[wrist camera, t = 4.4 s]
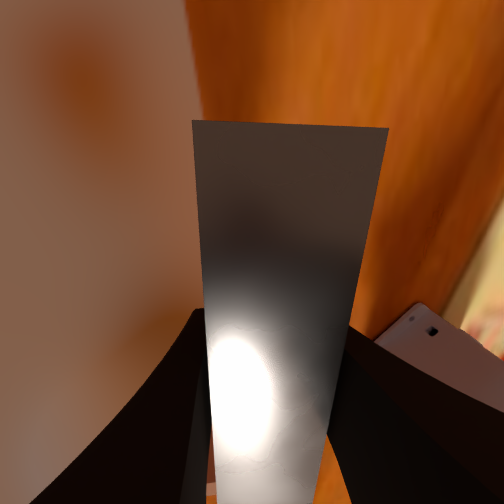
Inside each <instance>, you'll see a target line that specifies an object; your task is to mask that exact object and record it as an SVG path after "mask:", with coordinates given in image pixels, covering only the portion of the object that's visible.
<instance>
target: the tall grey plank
mask: <svg viewBox="0 0 504 504" xmlns="http://www.w3.org/2000/svg"><path fill="white" fill-rule="evenodd" d="M192 130H193V145H194V160H195V174H196V190H197V204H198V220H199V233H200V250H201V264H202V280H203V293H204V294H203V295H204V310H205V325H206V340H207V355H208V370H209V385H210V400H211V415H212V430H213V445H214V460H215V475H216V490H217V504H312V502H313V497H314V492H315V488H316V483H317V478H318V473H319V468H320V463H321V458H322V453H323V449H324V444H325V439H326V434H327V429H328V424H329V419H330V414H331V410H332V405H333V400H334V395H335V390H336V385H337V380H338V375H339V370H340V366H341V361H342V356H343V351H344V346H345V341H346V336H347V331H348V327H349V322H350V317H351V312H352V307H353V302H354V297H355V292H356V287H357V283H358V278H359V273H360V268H361V263H362V258H363V253H364V248H365V244H366V239H367V234H368V229H369V224H370V219H371V214H372V209H373V205H374V200H375V195H376V190H377V185H378V180H379V175H380V170H381V165H382V161H383V156H384V151H385V146H386V141H387V136H388V131H389V128H375V127H351V126H326V125H302V124H277V123H253V122H228V121H204V120H192Z"/></svg>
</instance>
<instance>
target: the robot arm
mask: <svg viewBox="0 0 504 504" xmlns="http://www.w3.org/2000/svg"><path fill="white" fill-rule="evenodd" d="M211 427H212V415H211V400H210V385H209V370H208V355H207V340H206V325H205V310H204V308H200V309H195V310H194V311H193V312H192V314H191V316H190V318H189V319H188V321H187V323H186V325H185V326H184V328H183V330H182V331H181V333H180V334H179V336H178V337H177V339H176V340H175V342H174V343H173V345H172V346H171V348H170V349H169V351H168V352H167V353H166V355H165V356H164V358H163V360H162V361H161V362H160V363H159V364H158V366H157V367H156V368H155V370H154V371H153V372H152V373H151V375H150V376H149V377H148V379H147V380H146V381H145V383H144V384H143V385H142V386H141V388H140V389H139V390H138V391H137V392H136V394H135V395H134V396H133V397H132V398H131V399H130V401H129V402H128V403H127V404H126V405H125V406H124V407H123V409H122V410H121V411H120V412H119V413H118V414H117V415H116V416H115V418H114V419H113V420H112V421H111V422H110V423H109V424H108V425H107V426H106V427H105V428H104V429H103V431H102V432H101V433H100V434H99V435H98V436H97V437H96V438H95V439H94V440H93V441H92V442H91V443H90V444H89V445H88V446H87V448H85V449H84V451H83V452H82V453H81V454H80V455H79V456H78V457H77V458H76V459H75V460H74V461H73V462H72V463H71V464H70V465H69V466H68V467H67V468H66V469H65V470H64V471H63V472H62V473H61V474H60V475H59V476H58V477H57V478H56V479H55V480H54V481H53V482H52V483H51V484H50V485H49V486H48V487H46V488H45V489H44V490H43V491H42V492H41V493H40V494H39V495H38V496H37V497H36V498H35V499H34V500H33V501H32V502H31V503H29V504H206V488H207V470H208V458H209V448H210V437H211ZM327 436H328V438H329V441H330V443H331V445H332V448H333V451H334V453H335V456H336V458H337V461H338V464H339V467H340V470H341V473H342V476H343V479H344V482H345V485H346V488H347V491H348V494H349V497H350V500H351V503H352V504H504V361H503V360H501V359H500V358H498V357H497V356H495V355H494V354H493V353H491V352H490V351H488V350H487V349H485V348H484V347H483V345H482V344H480V343H479V342H478V341H477V340H476V339H474V338H473V337H472V336H470V335H469V334H468V333H466V332H465V331H463V330H461V329H459V328H458V329H457V328H456V327H454V326H453V325H451V324H450V323H448V322H447V321H446V320H444V319H443V318H441V317H440V316H438V315H437V314H436V313H434V312H433V311H431V310H430V309H429V308H428V307H427V306H426V305H424V304H423V303H417V304H415V305H414V306H413V307H412V308H411V309H410V310H408V311H407V312H406V313H405V314H404V315H403V316H402V317H401V318H400V319H398V320H397V321H396V322H395V323H394V324H393V325H392V326H391V327H390V328H388V329H387V330H386V331H385V332H384V333H383V334H382V335H381V336H380V337H378V338H377V339H376V340H375V341H374V342H373V341H372V340H370V339H369V338H367V337H366V336H364V335H363V334H361V333H360V332H358V331H357V330H355V329H354V328H352V327H351V326H350V325H349V327H348V331H347V336H346V341H345V346H344V351H343V356H342V361H341V366H340V370H339V375H338V380H337V385H336V390H335V395H334V400H333V405H332V410H331V414H330V419H329V424H328V429H327Z"/></svg>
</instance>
